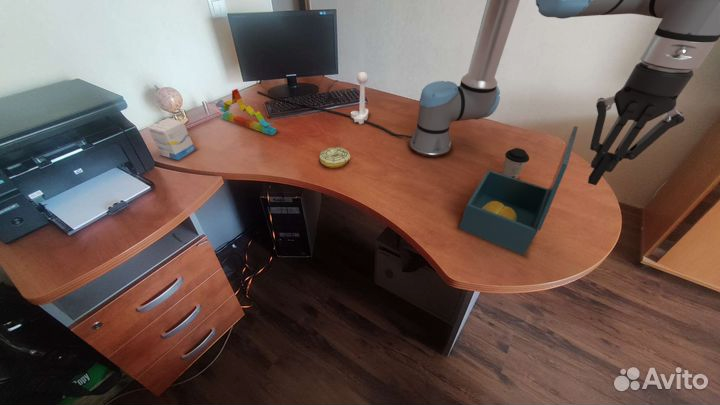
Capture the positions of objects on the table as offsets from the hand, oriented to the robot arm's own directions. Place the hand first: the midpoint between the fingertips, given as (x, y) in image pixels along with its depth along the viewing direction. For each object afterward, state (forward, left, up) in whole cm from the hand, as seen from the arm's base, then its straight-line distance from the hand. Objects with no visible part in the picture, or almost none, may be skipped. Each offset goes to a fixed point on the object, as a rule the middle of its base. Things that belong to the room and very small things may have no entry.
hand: (592, 181), depth 64 cm
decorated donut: (-71, -2, -20) cm, 73 cm away
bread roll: (-15, 0, -19) cm, 24 cm away
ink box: (-124, -30, -20) cm, 129 cm away
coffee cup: (-17, +22, -20) cm, 34 cm away
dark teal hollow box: (-14, 0, -20) cm, 24 cm away
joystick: (-84, +32, -20) cm, 92 cm away
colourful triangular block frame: (-120, 0, -20) cm, 121 cm away
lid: (-7, 0, -2) cm, 7 cm away
